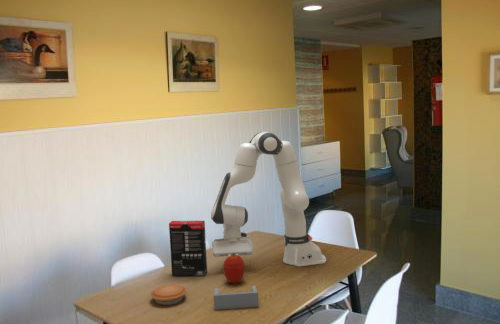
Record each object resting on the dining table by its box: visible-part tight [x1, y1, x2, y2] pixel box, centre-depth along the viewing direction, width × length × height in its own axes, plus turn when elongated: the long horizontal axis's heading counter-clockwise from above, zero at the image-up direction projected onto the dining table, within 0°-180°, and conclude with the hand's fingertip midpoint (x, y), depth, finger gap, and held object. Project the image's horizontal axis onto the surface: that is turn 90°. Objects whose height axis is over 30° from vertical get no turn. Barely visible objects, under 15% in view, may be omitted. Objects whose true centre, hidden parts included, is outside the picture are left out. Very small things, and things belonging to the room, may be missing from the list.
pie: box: [150, 283, 188, 306], centre depth 202 cm, size 15×16×5 cm
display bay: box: [213, 285, 259, 311], centre depth 198 cm, size 18×16×6 cm
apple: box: [222, 254, 246, 284], centre depth 218 cm, size 10×10×14 cm
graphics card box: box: [168, 220, 208, 277], centre depth 230 cm, size 17×7×27 cm, turn 84°
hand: (233, 263), depth 227 cm, fingers closed
